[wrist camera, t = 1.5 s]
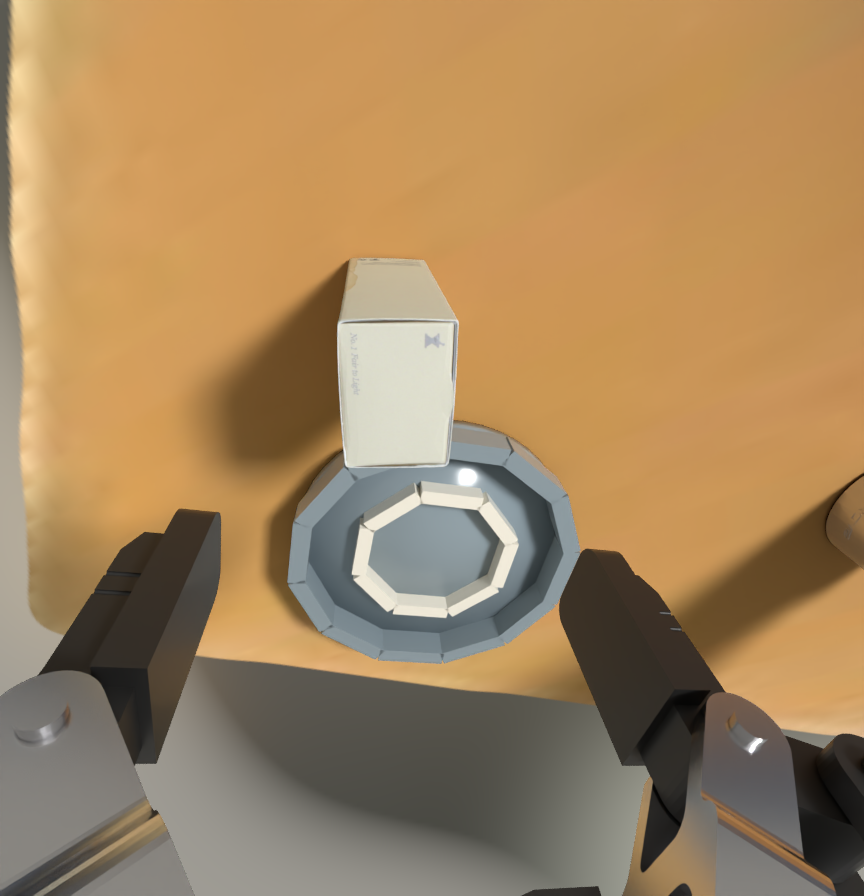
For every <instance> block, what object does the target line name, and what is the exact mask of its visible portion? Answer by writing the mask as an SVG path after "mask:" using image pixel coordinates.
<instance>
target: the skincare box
mask: <svg viewBox="0 0 864 896" xmlns="http://www.w3.org/2000/svg"><path fill="white" fill-rule="evenodd" d="M458 328H459V322H458V320H457V318H456V316H455V314H454V312H453V311H452V309H451V307H450V306H449V304H448V302H447V300H446V298H445V296H444V295H443V293H442V291H441V289H440V288H439V286H438V284H437V282H436V280H435V279H434V277H433V275H432V273H431V272H430V270H429V268H428V266H427V264H426V262H425V261H424V260H414V259H394V258H351V259H349V263H348V270H347V277H346V283H345V289H344V295H343V300H342V306H341V311H340V315H339V319H338V323H337V357H338V383H339V400H340V416H341V429H342V441H343V452H344V462H345V466H346V467H349V468H419V467H445V466H447V465H448V464H449V458H450V448H451V438H452V427H453V416H454V405H455V386H456V370H457V348H458Z"/></svg>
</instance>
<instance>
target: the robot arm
mask: <svg viewBox="0 0 864 896" xmlns="http://www.w3.org/2000/svg"><path fill="white" fill-rule="evenodd" d="M826 533H827V537H828V539H829V540H830V542H831V543H832V544H833V545H834V546H835V547H837V548H838V549H839V550H840V551H842V552H843V553H844V554H845V555H846V556H848V557H849V558H850V559H851V560H852V561H854V562H855V563H856V564H857V565H859V566H860V567H861V568H862V569H863V570H864V476H863V477H862V478H860V479H859V480H857V481H856V482H855V483H853V484H852V485H851V486H850V487H849V488H848V489H847V490H846V491H845V492H844V493H843V494H842V495H841V496H840V498H839V499H838V500H837V501H836V503H835V504H834V506H833V508H832V509H831V511H830V513H829V516H828V519H827V524H826ZM220 560H221V516H220V513H219V512H209V511H199V510H188V509H179V510H178V511H177V512H176V513H175V515H174V517H173V519H172V520H171V522H170V524H169V526H168V527H167V529H166V531H165V533H164V534H161V533H150V532H144V533H143V534H141V535H140V536H139V537H137V538H136V539H134V540H133V541H132V542H130V543H129V544H128V545H126V546H125V547H123V548H122V549H121V550H120V551H119V553H118V555H117V556H116V558H115V559H114V561H113V562H112V564H111V565H110V567H109V568H108V570H107V574H106V575H104V576H103V578H102V579H101V581H100V582H99V584H98V585H97V587H96V588H95V592H94V594H91V596H90V598H89V599H88V601H87V602H86V604H85V605H84V607H83V608H82V610H81V611H80V613H79V614H78V616H77V617H76V619H75V621H74V622H73V624H72V625H71V627H70V628H69V630H68V631H67V633H66V634H65V636H64V637H63V639H62V641H61V642H60V644H59V645H58V647H57V648H56V650H55V651H54V653H53V654H52V656H51V657H50V659H49V661H48V662H47V664H46V665H45V667H44V668H43V669H42V671H41V672H40V673H39V675H37V676H36V677H33V678H30V679H28V680H26V681H24V682H22V683H20V684H18V685H16V686H15V687H13V688H11V689H9V690H8V691H7V692H5V693H4V694H3V695H1V696H0V896H195V895H194V893H193V890H192V888H191V886H190V883H189V881H188V878H187V876H186V873H185V871H184V869H183V866H182V864H181V861H180V859H179V856H178V854H177V851H176V849H175V846H174V844H173V841H172V839H171V837H170V834H169V832H168V829H167V827H166V825H165V823H164V821H163V819H162V817H161V816H160V814H159V813H158V811H156V810H155V811H154V810H153V809H152V807H151V806H150V804H149V801H148V799H147V797H146V794H145V792H144V790H143V787H142V785H141V782H140V779H139V777H138V774H137V772H136V769H135V767H134V766H135V764H156V763H157V760H158V758H159V755H160V752H161V749H162V746H163V744H164V741H165V738H166V735H167V732H168V730H169V727H170V724H171V721H172V718H173V716H174V713H175V710H176V707H177V704H178V701H179V699H180V696H181V693H182V690H183V688H184V685H185V682H186V679H187V676H188V674H189V671H190V668H191V665H192V662H193V660H194V657H195V654H196V651H197V648H198V646H199V643H200V640H201V637H202V634H203V631H204V629H205V626H206V623H207V620H208V617H209V615H210V612H211V609H212V606H213V603H214V601H215V597H216V594H217V589H218V584H219V578H220ZM559 613H560V619H561V623H562V625H563V628H564V630H565V632H566V635H567V637H568V639H569V642H570V644H571V647H572V649H573V651H574V654H575V656H576V658H577V661H578V663H579V665H580V668H581V670H582V672H583V675H584V677H585V679H586V682H587V684H588V686H589V689H590V691H591V694H592V696H593V698H594V701H595V703H596V705H597V708H598V710H599V712H600V715H601V717H602V719H603V722H604V724H605V726H606V728H607V731H608V734H609V736H610V738H611V741H612V743H613V745H614V748H615V750H616V752H617V754H618V757H619V759H620V762H621V764H622V766H624V765H625V766H632V765H633V766H643V765H645V766H646V767H647V770H648V772H649V774H650V777H649V778H648V780H647V781H646V783H645V785H644V789H643V795H642V800H641V806H640V812H639V818H638V824H637V829H636V836H635V841H634V847H633V853H632V859H631V864H630V870H629V876H628V880H627V884H626V886H625V889H624V892H623V894H622V896H864V882H863V880H862V879H861V877H860V876H859V874H858V872H857V871H859V870H860V869H861V868H863V867H864V738H862V737H859V736H856V735H852V734H840V735H838V736H836V737H835V738H834V739H833V740H832V741H831V742H830V743H829V744H828V745H827V746H826V747H825V748H824V749H822V748H820V747H817V746H814V745H811V744H808V743H805V742H802V741H799V740H796V739H793V738H791V737H788V736H785V735H784V734H783V732H782V731H781V729H780V728H779V727H778V725H777V724H776V723H775V722H774V721H773V720H772V719H771V718H770V717H769V716H768V715H767V714H766V713H765V712H764V711H762V710H761V709H760V708H759V707H757V706H756V705H754V704H753V703H751V702H750V701H748V700H746V699H744V698H742V697H740V696H737V695H734V694H731V693H726V692H725V691H724V689H723V688H722V686H721V685H720V683H719V682H718V680H717V679H716V677H715V676H714V675H713V673H712V672H711V670H710V669H709V667H708V666H707V664H706V663H705V661H704V660H703V658H702V657H701V655H700V654H699V653H698V651H697V650H696V648H695V647H694V645H693V644H692V642H691V641H690V639H689V638H688V636H687V635H686V634H685V632H682V631H681V626H680V625H679V623H678V622H677V620H676V619H675V617H674V616H671V614H670V613H671V612H670V610H669V609H668V607H667V606H666V604H665V603H664V601H663V600H662V598H661V597H660V595H659V594H658V593H657V592H656V591H655V590H654V589H653V588H652V587H651V586H650V585H648V584H647V583H646V582H645V581H644V580H643V579H642V578H641V577H640V576H638V575H635V574H634V572H633V571H632V569H631V568H630V566H629V565H628V563H627V562H626V560H625V559H624V557H623V556H622V555H621V554H620V553H619V552H616V551H606V550H595V549H585V550H583V551H582V552H581V554H580V556H579V558H578V560H577V562H576V564H575V566H574V569H573V571H572V573H571V575H570V577H569V580H568V582H567V584H566V586H565V588H564V591H563V593H562V595H561V598H560V604H559ZM522 896H601V894H600V891H599V888H598V886H595V887H577V888H559V889H541V890H533V891H531V892H529V893H526V894H524V895H522Z"/></svg>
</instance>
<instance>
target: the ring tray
mask: <svg viewBox="0 0 864 896" xmlns="http://www.w3.org/2000/svg"><path fill="white" fill-rule="evenodd" d="M579 551H580V547H579V542H578V538H577V533H576V529H575V524H574V520H573V515H572V511H571V506H570V502H569V497H568V495H567V493H566V491H565V490H564V488H563V486H562V485H561V483H560V481H559V480H558V478H557V477H556V476H555V475H554V474H553V473H551V472H550V471H549V470H548V469H547V468H545V466H544V465H543V464H542V462H541V461H540V460H539V459H538V458H537V457H536V456H535V455H534V454H533V453H532V452H531V451H530V450H529V449H528V448H527V447H525V446H524V445H522V444H521V443H520V442H518V441H517V440H515V439H514V438H512V437H510V436H508V435H506V434H504V433H502V432H500V431H498V430H495V429H492V428H489V427H486V426H483V425H480V424H475V423H470V422H466V421H458V420H453V427H452V438H451V448H450V458H449V464H448V465H447V466H445V467H419V468H349V467H346V466H345V462H344V452H343V451H341V452H340V453H339V454H337V455H336V456H335V457H334V458H333V459H332V460H331V461H330V462H329V463H328V464H327V465H326V466H325V467H324V468H323V469H322V470H321V471H320V473H319V474H318V475H317V476H316V478H315V479H314V480H313V482H312V483H311V485H310V487H309V489H308V491H307V492H306V494H305V496H304V497H303V498H302V499H301V501H300V502H299V503H298V505H297V509H296V513H295V517H294V522H293V529H292V539H291V550H290V560H289V570H288V581H287V583H288V586H289V588H290V589H291V591H292V592H293V594H294V595H295V597H296V598H297V600H298V601H299V603H300V604H301V605H302V607H303V608H304V610H305V611H306V613H307V614H308V616H309V617H310V619H311V620H312V622H313V623H314V625H315V626H316V628H317V629H318V631H319V632H320V631H322V632H321V634H323V635H325V636H327V637H329V638H331V639H333V640H335V641H338V642H340V643H342V644H344V645H346V646H348V647H350V648H352V649H354V650H356V651H358V652H360V653H362V654H365V655H367V656H369V657H371V658H373V659H376V658H378V660H381V661H400V662H418V663H436V664H441V663H442V660H443V662H444V663H447V662H450V661H454V660H457V659H460V658H464V657H467V656H470V655H474V654H477V653H480V652H484V651H487V650H491V649H494V648H497V647H501V646H504V645H505V644H504V642H505V643H507V644H508V643H509V642H511V641H512V640H513V639H514V638H516V637H517V636H518V635H519V634H521V633H522V632H523V631H525V630H526V629H527V628H528V627H530V626H531V625H532V624H534V623H535V622H536V621H537V620H539V619H540V618H541V617H543V616H544V615H545V614H546V613H548V612H549V611H550V610H552V609H553V608H554V607H555V605H554V604H557V603H558V601H559V599H560V597H561V594H562V592H563V590H564V588H565V586H566V583H567V581H568V579H569V577H570V575H571V572H572V570H573V568H574V566H575V564H576V561H577V559H578V557H579V555H580V552H579Z"/></svg>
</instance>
